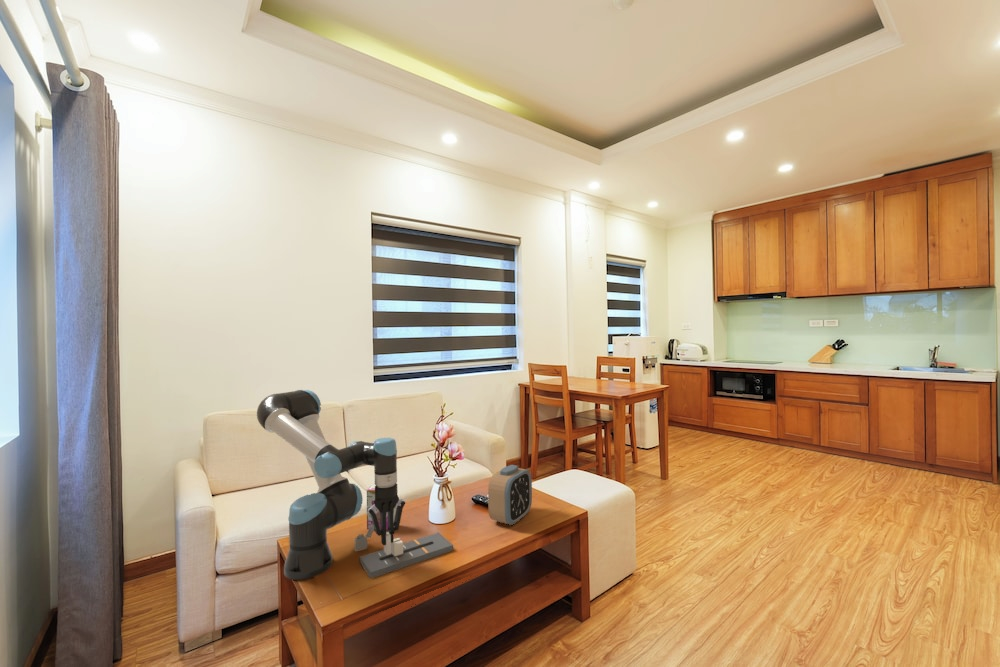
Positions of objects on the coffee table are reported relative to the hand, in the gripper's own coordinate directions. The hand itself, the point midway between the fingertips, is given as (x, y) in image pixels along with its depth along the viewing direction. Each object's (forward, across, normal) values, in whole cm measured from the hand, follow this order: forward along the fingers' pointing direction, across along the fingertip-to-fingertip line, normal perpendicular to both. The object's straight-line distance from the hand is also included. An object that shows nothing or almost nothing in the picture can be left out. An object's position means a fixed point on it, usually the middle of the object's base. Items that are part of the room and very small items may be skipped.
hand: (387, 552), depth 145 cm
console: (+4, +7, 0) cm, 8 cm away
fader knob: (+4, +3, 0) cm, 5 cm away
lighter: (+4, -3, +15) cm, 16 cm away
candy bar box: (+4, +7, +28) cm, 29 cm away
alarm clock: (+4, +54, +3) cm, 55 cm away
